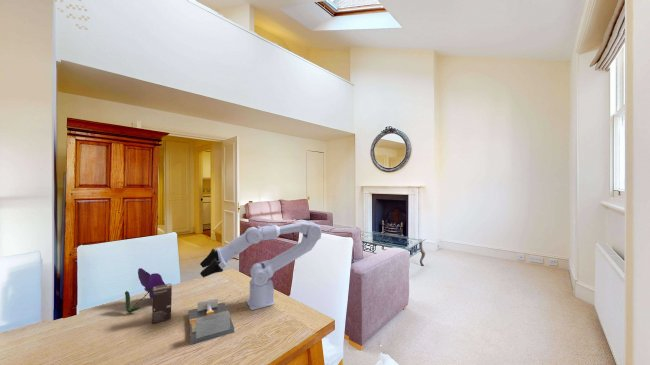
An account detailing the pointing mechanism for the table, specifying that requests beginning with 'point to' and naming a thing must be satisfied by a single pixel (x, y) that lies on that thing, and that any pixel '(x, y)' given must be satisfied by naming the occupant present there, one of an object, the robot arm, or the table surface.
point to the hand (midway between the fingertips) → (201, 270)
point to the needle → (206, 315)
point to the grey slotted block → (207, 304)
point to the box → (161, 302)
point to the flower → (147, 282)
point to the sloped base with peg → (210, 323)
